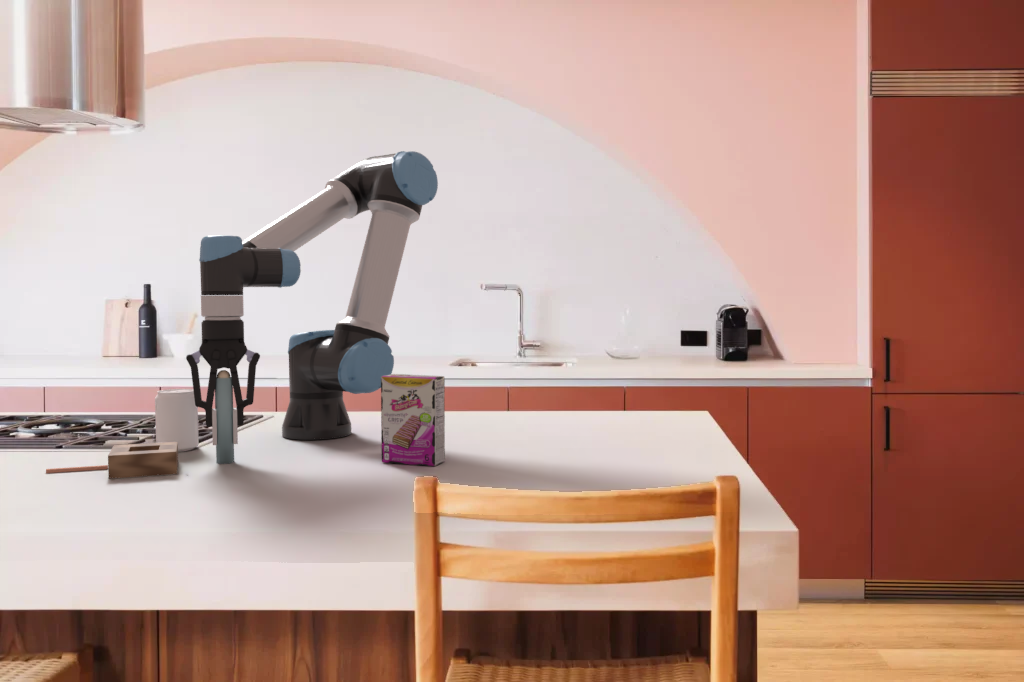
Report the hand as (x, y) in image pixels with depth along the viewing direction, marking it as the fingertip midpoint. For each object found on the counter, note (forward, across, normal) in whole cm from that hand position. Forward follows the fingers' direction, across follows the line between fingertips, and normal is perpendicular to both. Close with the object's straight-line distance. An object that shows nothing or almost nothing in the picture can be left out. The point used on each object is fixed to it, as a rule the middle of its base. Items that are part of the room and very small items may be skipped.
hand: (225, 443), depth 167 cm
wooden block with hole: (+4, +14, +3) cm, 15 cm away
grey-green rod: (+4, 0, 0) cm, 4 cm away
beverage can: (+4, +9, -18) cm, 20 cm away
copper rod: (+4, +25, -1) cm, 26 cm away
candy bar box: (+4, -33, +13) cm, 36 cm away
